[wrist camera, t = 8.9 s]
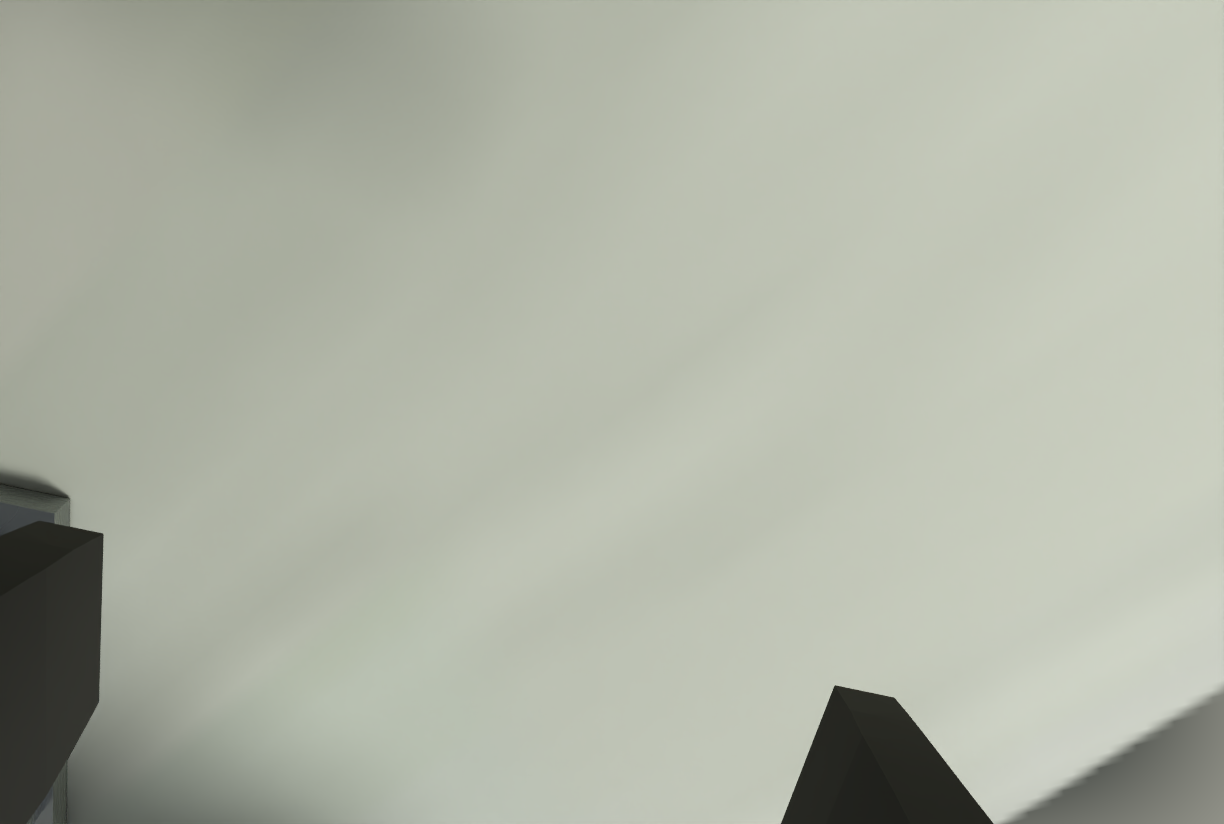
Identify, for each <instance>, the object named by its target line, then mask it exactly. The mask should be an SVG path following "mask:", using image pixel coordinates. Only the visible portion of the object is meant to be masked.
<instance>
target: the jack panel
mask: <svg viewBox="0 0 1224 824" xmlns="http://www.w3.org/2000/svg"><path fill="white" fill-rule="evenodd" d="M39 520H40V521H44V522H49V523H54V524H59V525H64V526H69V527H70V499H69V498H64V497H59V496H54V495H50V494H45V493H40V492H35V491H31V490H26V489H21V488H16V487H11V486H7V485H2V484H0V536H2V535H4V534H6V533H9V532H11V531H13V530H16V529H18V528H21V527H24V526H26V525H29V524H31V523H34V522H37V521H39ZM66 790H67V761H66V763H65V764H64V766H63V768H62V770H61V771H60V773H59V775H58V777H57V778H56V780H55V782H54V783H53V785H52V787H51V789H50V790H49V792H48V794H47V795H46V797H45V798H44V800H43V801H42V803H41V804H40V805H39V807H38V808H37V810H36V811H35V812H34V814H33V815H32V817H31V818H30V819H29V821H28V822H27V824H66Z"/></svg>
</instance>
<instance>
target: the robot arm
mask: <svg viewBox="0 0 1224 824" xmlns="http://www.w3.org/2000/svg"><path fill="white" fill-rule="evenodd" d="M102 569H103V534H102V533H97V532H93V531H88V530H83V529H78V528H73V527H69V526H64V525H59V524H54V523H49V522H44V521H40V520H39V521H37V522H34V523H31V524H29V525H26V526H24V527H21V528H18V529H16V530H13V531H11V532H9V533H6V534H4V535H2V536H0V824H27V822H28V821H29V819H30V818H31V817H32V815H33V814H34V812H35V811H36V810H37V808H38V807H39V805H40V804H41V803H42V801H43V800H44V798H45V797H46V795H47V794H48V792H49V790H50V789H51V787H52V785H53V783H54V782H55V780H56V778H57V777H58V775H59V773H60V771H61V770H62V768H63V766H64V764H65V763H66V761H67V759H68V758H69V756H70V754H71V752H72V751H73V749H74V747H75V745H76V743H77V741H78V740H79V738H80V736H81V734H82V732H83V730H84V729H85V727H86V725H87V723H88V721H89V719H90V717H91V716H92V714H93V712H94V710H95V708H96V706H97V705H98V703H99V678H100V641H101V605H102ZM781 824H993V822H992V821H991V820H990V819H989V817H988V816H987V815H986V814H985V812H984V811H983V810H982V808H981V807H980V806H979V805H978V803H977V802H976V801H975V799H974V798H973V797H972V796H971V794H970V793H969V792H968V790H967V789H966V788H965V787H964V785H963V784H962V783H961V781H960V780H959V779H958V778H957V776H956V775H955V774H954V772H953V771H952V770H951V768H950V767H949V766H948V765H947V763H946V762H945V761H944V759H943V758H942V757H941V756H940V754H939V753H938V752H937V750H936V749H935V748H934V746H933V745H932V744H931V743H930V741H929V740H928V739H927V737H926V736H925V735H924V734H923V732H922V731H921V730H920V728H919V727H918V726H917V725H916V723H915V722H914V721H913V720H912V718H911V717H910V716H909V715H908V713H907V712H906V711H905V710H904V709H903V707H902V706H901V705H900V704H899V703H898V702H897V700H896V699H895V698H893V697H888V696H883V695H879V694H874V693H869V692H864V691H859V690H855V689H850V688H845V687H840V686H834V689H833V691H832V694H831V696H830V699H829V701H828V704H827V707H826V709H825V712H824V714H823V717H822V719H821V722H820V725H819V727H818V730H817V732H816V735H815V738H814V740H813V743H812V745H811V748H810V750H809V753H808V756H807V758H806V761H805V763H804V766H803V768H802V771H801V774H800V776H799V779H798V781H797V784H796V786H795V789H794V792H793V794H792V797H791V799H790V802H789V805H788V807H787V810H786V812H785V815H784V817H783V820H782V823H781Z"/></svg>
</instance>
